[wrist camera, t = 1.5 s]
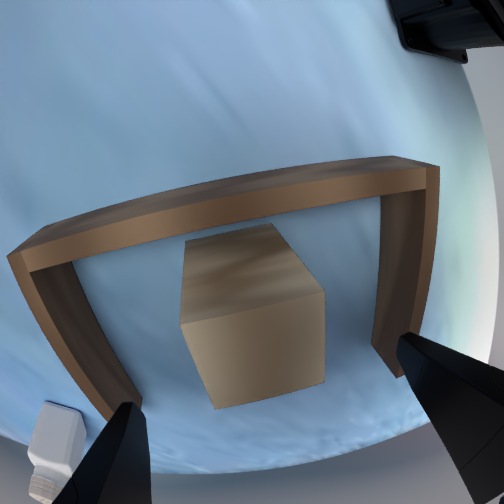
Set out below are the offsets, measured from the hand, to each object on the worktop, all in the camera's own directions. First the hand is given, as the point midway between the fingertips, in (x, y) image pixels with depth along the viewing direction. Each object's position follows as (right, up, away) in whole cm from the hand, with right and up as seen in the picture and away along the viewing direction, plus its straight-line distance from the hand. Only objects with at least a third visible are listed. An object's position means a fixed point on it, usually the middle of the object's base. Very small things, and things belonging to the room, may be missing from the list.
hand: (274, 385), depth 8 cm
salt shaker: (-17, -10, +10) cm, 23 cm away
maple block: (-2, +3, +7) cm, 8 cm away
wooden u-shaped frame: (-1, +1, +8) cm, 8 cm away
